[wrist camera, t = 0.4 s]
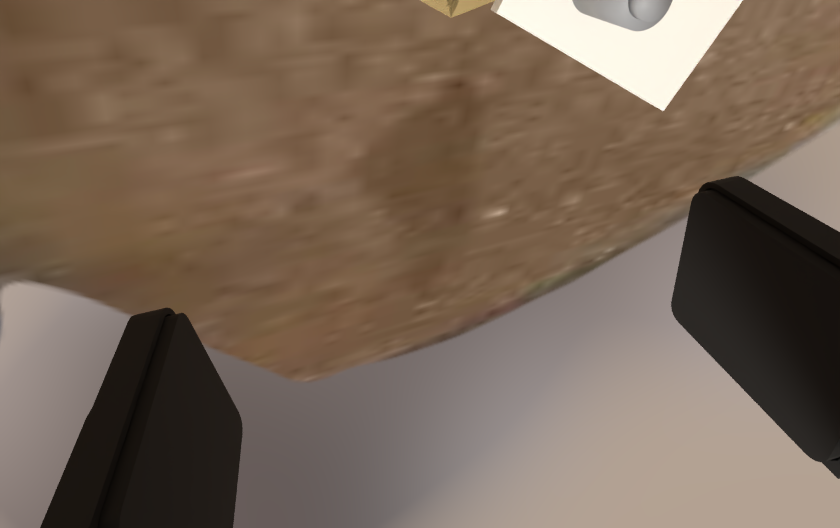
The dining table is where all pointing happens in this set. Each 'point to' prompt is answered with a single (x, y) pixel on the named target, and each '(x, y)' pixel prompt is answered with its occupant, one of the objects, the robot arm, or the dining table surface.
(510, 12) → the post board
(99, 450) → the robot arm
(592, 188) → the dining table surface
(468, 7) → the brass collar
